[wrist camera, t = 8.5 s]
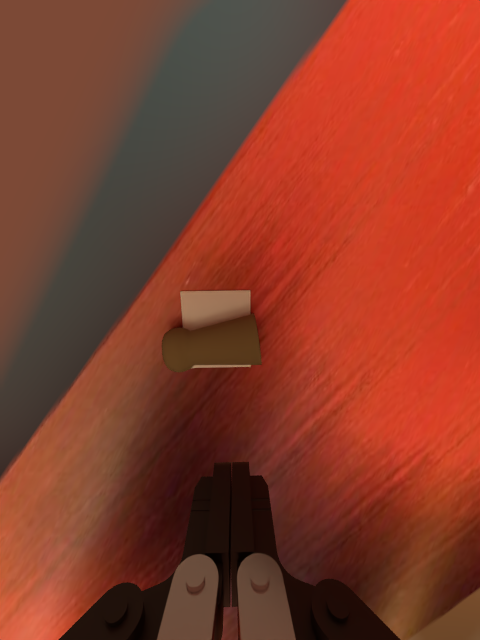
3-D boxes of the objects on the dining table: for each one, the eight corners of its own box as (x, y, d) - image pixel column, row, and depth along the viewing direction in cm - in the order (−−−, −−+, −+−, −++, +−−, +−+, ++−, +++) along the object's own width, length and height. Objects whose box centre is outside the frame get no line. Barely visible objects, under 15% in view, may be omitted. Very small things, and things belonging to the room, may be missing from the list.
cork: (261, 372, 32) (172, 384, 32) (254, 329, 35) (173, 340, 35) (261, 351, 27) (154, 366, 27) (252, 303, 30) (157, 316, 30)
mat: (250, 290, 32) (250, 290, 32) (250, 365, 35) (250, 366, 34) (180, 291, 32) (180, 291, 32) (186, 366, 35) (185, 367, 34)
